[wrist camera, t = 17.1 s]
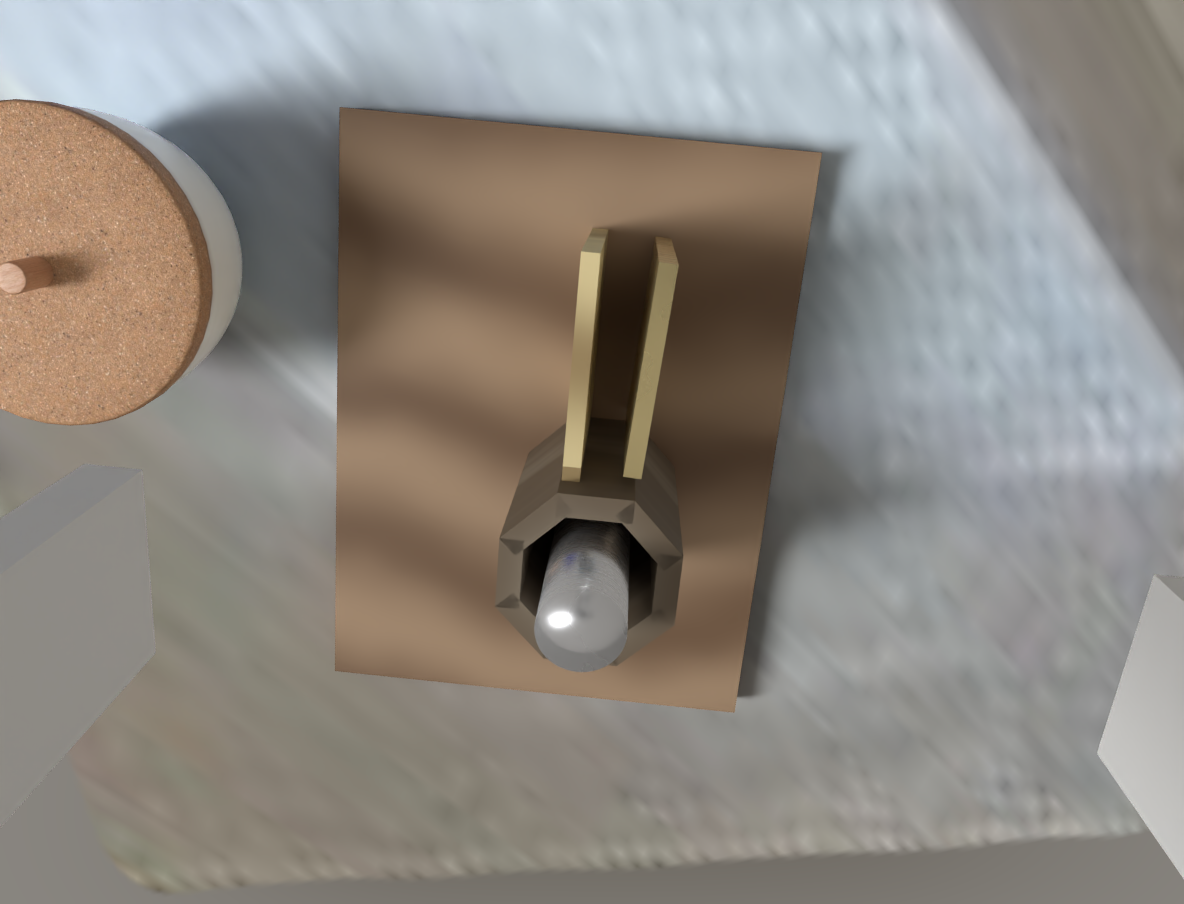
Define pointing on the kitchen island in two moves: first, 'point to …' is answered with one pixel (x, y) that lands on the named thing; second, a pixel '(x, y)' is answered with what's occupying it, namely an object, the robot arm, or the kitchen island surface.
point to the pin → (585, 595)
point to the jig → (554, 393)
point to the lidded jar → (105, 264)
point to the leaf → (649, 355)
